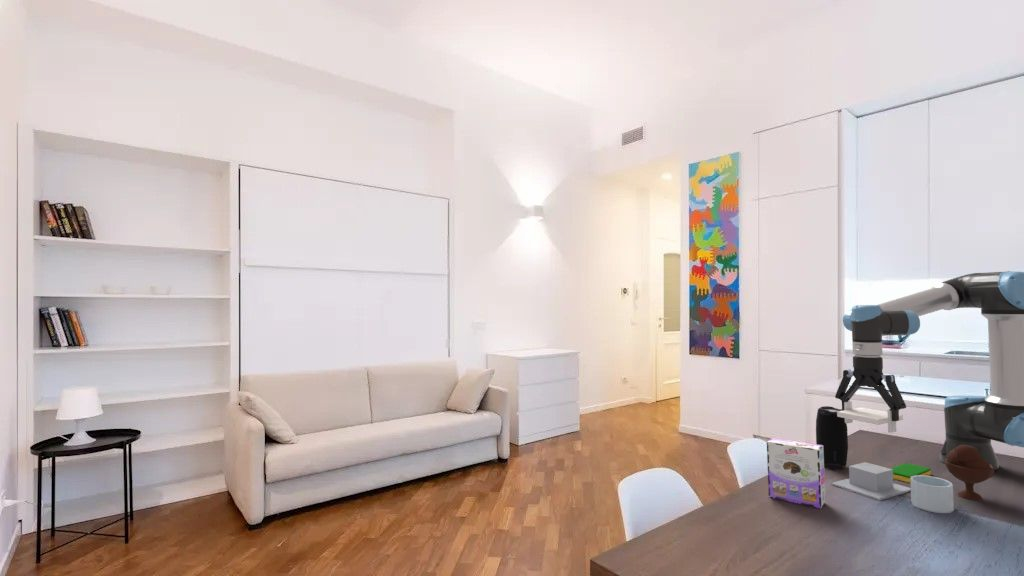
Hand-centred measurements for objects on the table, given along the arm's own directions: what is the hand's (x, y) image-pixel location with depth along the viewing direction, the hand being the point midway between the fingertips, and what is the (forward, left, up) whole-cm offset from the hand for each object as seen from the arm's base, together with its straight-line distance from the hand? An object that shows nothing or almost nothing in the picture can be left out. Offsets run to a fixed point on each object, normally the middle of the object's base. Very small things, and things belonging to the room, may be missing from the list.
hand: (869, 427), depth 159 cm
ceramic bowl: (0, +16, -18) cm, 24 cm away
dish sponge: (-21, -1, -19) cm, 28 cm away
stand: (0, 0, -18) cm, 18 cm away
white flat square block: (0, 0, +3) cm, 3 cm away
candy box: (+28, -4, -19) cm, 34 cm away
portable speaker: (-9, -18, -19) cm, 27 cm away
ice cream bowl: (-17, +17, -19) cm, 30 cm away
